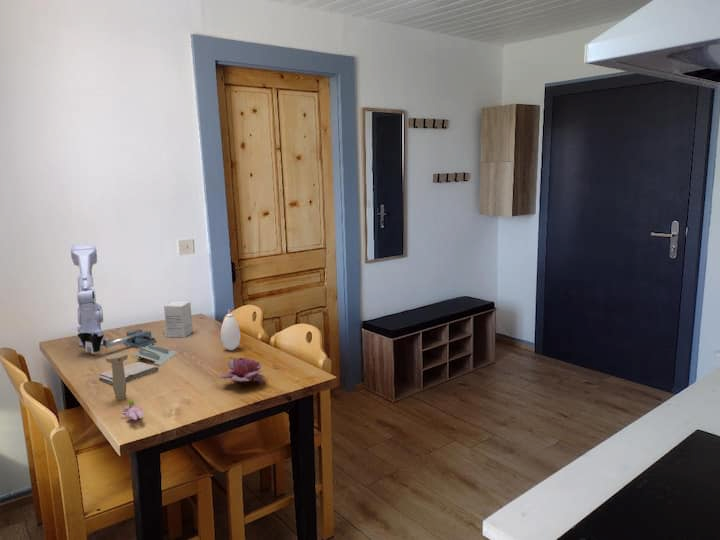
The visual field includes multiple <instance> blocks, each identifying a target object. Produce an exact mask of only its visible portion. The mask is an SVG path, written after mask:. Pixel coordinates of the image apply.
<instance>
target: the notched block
mask: <svg viewBox="0 0 720 540" xmlns="http://www.w3.org/2000/svg"><path fill="white" fill-rule="evenodd" d="M84 351H85V353H90V352H91V354H92V355H93V354H96V353H97V354H98V353H100V352H101V350H100V351H98V352H94V350H93V346H92V343H91V341H90V340H88V341H85V348H84Z"/></svg>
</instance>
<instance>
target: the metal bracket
mask: <svg viewBox="0 0 720 540" xmlns="http://www.w3.org/2000/svg"><path fill="white" fill-rule="evenodd" d="M177 353H178V354H179V352H178V351H176V350H171V351H169V348H165V347H162V346H155V345H154V344H153V345H152V344H149V346H147V347H144V348H142V347H140V348H139V351H137V352H136V353H134V356H137V357H138V359H139V358H141V357H142V358H143V359H146V360H149V361H153V362H154V363H153V364H154V365H155V366H160V365H161V364H163V363H164V362H165V363H166V361H167V360H168V359H169V360H171V359H172V358H174V357H175V356H174V355H175V354H177ZM178 354H177V355H178ZM171 357H172V358H171ZM142 358H141V359H142ZM170 358H171V359H170ZM169 360H168V361H169ZM168 361H167V362H168ZM165 363H164V364H165ZM164 364H163V365H164ZM161 366H162V365H161Z"/></svg>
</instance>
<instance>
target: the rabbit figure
mask: <svg viewBox="0 0 720 540" xmlns="http://www.w3.org/2000/svg"><path fill="white" fill-rule="evenodd" d="M142 409H143V407H142V406H141V407H136V405H135V402H134V401H133V399H132V398H131V399H129V403H128V405H127V406H125V405H123V411H120V414H121V415H124V414H125V415H124V418H126V419H127V420H133V421H137V420H138V419H141V420H142V419H143V417H144V414H145V413H144V411H143V410H142Z"/></svg>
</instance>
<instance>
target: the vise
mask: <svg viewBox="0 0 720 540" xmlns="http://www.w3.org/2000/svg"><path fill="white" fill-rule="evenodd" d="M102 341H103V344H102V345H103V346H104V347H105V348H110V347H115V346H116V345H120V344H122V345H123V344H125V345H124V346H128V345H130V346H129V347H132V346H135V347H134V348H136V347H144V348H146V347H145V346H148V345H149V344H153V345H155V344H154V343H156V344H157V340H156V338H155V337H152V331H150V330H143V329H141V328H137V329H133V330H130V331H126V336H124V337H121V338H117V339H114V340H111V338H109V337H108V338H107V337H106V338H104V339H102Z"/></svg>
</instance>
